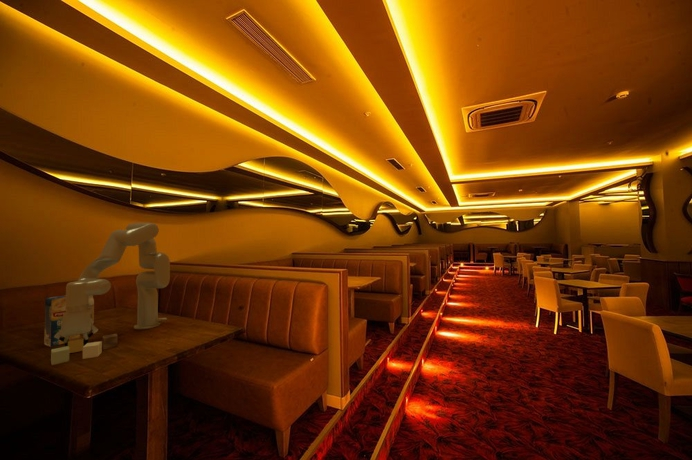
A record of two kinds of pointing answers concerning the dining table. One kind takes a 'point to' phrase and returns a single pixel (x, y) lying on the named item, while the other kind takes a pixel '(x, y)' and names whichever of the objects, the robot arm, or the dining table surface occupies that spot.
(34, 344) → the dining table surface
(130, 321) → the dining table surface
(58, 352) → the sage cube
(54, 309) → the blue cardboard box
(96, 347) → the cream cube
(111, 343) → the walnut cube
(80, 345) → the ochre cube
